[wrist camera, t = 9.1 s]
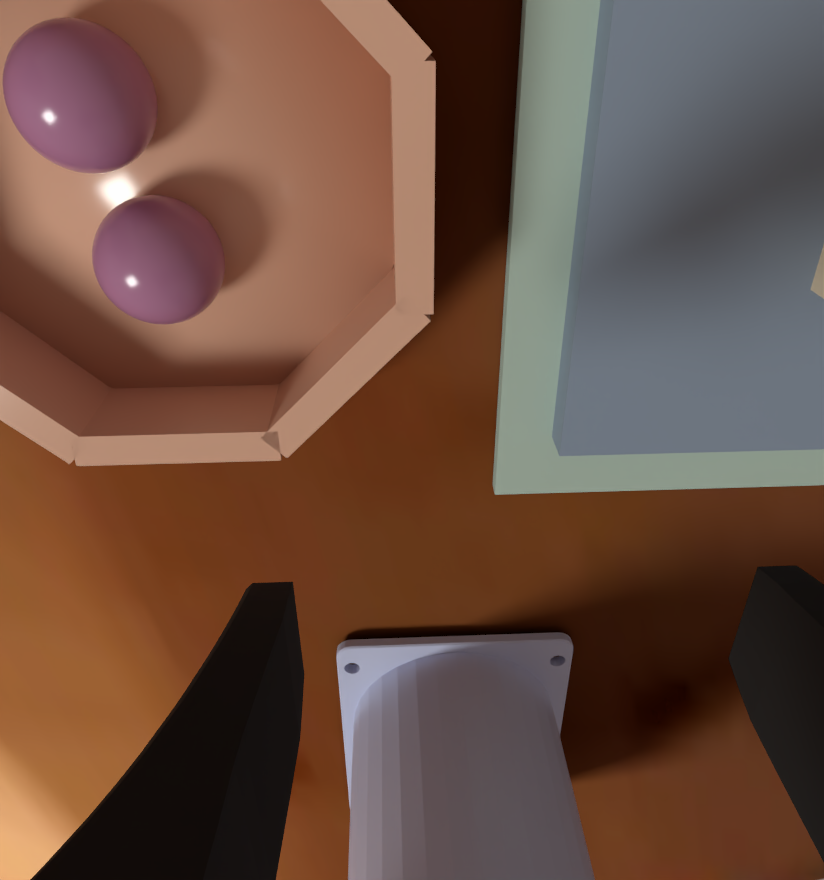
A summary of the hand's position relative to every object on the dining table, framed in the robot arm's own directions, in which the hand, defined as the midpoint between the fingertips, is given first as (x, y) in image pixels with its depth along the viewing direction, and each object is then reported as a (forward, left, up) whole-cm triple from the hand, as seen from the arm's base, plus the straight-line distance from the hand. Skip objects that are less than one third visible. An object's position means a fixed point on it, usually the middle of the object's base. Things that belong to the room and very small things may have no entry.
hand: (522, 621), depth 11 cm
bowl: (+5, +7, -9) cm, 13 cm away
